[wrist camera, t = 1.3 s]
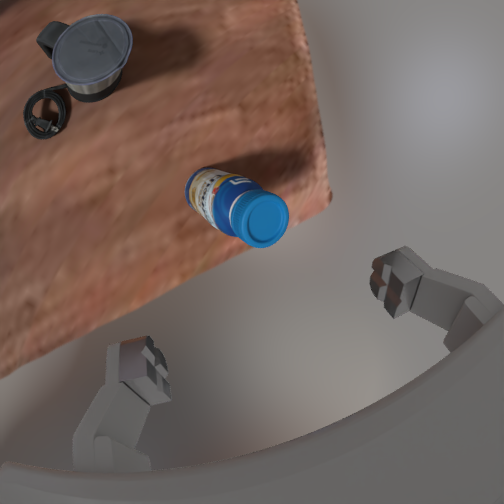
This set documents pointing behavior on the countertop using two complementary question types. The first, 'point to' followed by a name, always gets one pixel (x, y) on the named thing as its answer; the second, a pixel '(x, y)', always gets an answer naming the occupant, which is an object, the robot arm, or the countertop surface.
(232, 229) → the beverage bottle
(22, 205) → the countertop surface
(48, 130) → the milk frother
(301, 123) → the countertop surface
